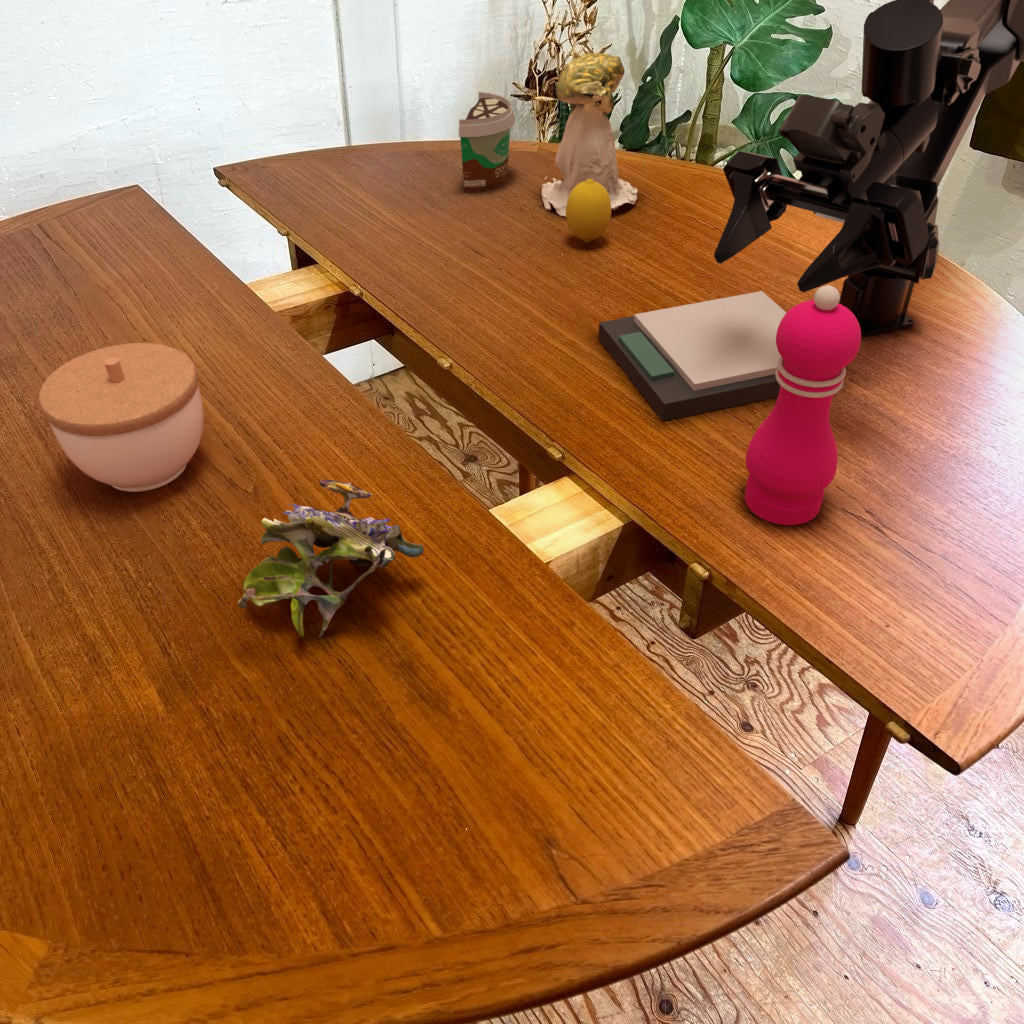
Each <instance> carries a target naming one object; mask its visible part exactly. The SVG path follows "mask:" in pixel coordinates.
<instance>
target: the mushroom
mask: <svg viewBox="0 0 1024 1024" xmlns="http://www.w3.org/2000/svg"><path fill="white" fill-rule="evenodd" d="M558 74H559V75H560V73H559V72H556V75H558ZM624 74H625V67H624V65H623V63H622V59H621V57H620V56H618V55H616V56H615V55H611V54H609V53H604V52H589V53H584V54H582V55H580V56H578V57H576V58H575V59H573V60H570V61H569V62H568V63H567V65H566V66H565V67H564V70H563V72H562V73H561V75H560V77H559V79H558V82H557V86H556V93H557V96H556V97H557V100H558V101H560V102H562V103H565V104H569V105H570V107H571V112H570V114H569V116H568V119H567V120H566V124H565V126H564V132H563V134H562V139H561V141H559V143H558V149H557V151H556V155H555V164H556V166H557V168H558V169H559V171H560V173H561V174H562V180H561V179H556V178H555V177H553V178H552V181H553V182H550V181H547V182H546V183H542V185H541V200H542V201H543V206H544V208H545V209H547V210H548V211H551V210H552V207H553V208H554V209H555V212H556V214H558V215H559V216H560V217H565V218H566V205H567V201H568V198H569V195H570V193H571V191H572V189H573V188H574V187H575V186H576V185H578V184H579V183H581V182H584V181H586V180H587V179H593V181H595V182H598V183H600V184H601V185H602V186H603V187H604V188H605V189H606V190H607V192H608V194H609V197H610V201H611V209H613V211H616V210H618V209H619V207H621V206H622V205H624V204H626V203H627V204H632V205H635V204H636V201H637V199H638V192H639V191H638V188H637V187H633V186H632V184H631V183H630V182H629V181H626V179H625V180H624V179H622V178H619V169H618V161H617V150H616V143H615V136H614V133H613V130H612V126H611V122H610V120H609V117H608V115H607V114H610V113H611V112H612V111H613V110H614V95H613V93H614V92H615V91H616V90H617V89H618V86H619V85H620V83H621V81H622V80H623V78H624V76H625V75H624ZM547 179H548V176H547V175H546V176H545V177H544V178H543V180H545V181H546V180H547ZM551 206H552V207H551Z"/></svg>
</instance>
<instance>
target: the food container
mask: <svg viewBox="0 0 1024 1024" xmlns="http://www.w3.org/2000/svg"><path fill="white" fill-rule="evenodd" d="M458 122H459V123H458V137H459V138H460V139H459V140H460V153H461V164H462V165H461V166H462V179H463V191H464V192H465V193H477V192H479V193H480V192H487V191H490V190H495V189H498V188H500V187H502V186H503V185H504V184H506V182H507V181H508V171H509V155H510V138H511V137H510V136H511V135H510V134H511V128H512V127H513V126H514V124H515V123H516V117H515V113H514V108H513V106H512V104H511V102H510V100H509V99H507V98H506V97H504V96H502V95H499V94H497V93H496V94H495V93H491V92H483V91H482V92H481V91H478V99H477V102H476V104H475V105H474V106H473V107H471V108H470V110H469V111H468V114H467V116H466V118H465V119H458Z"/></svg>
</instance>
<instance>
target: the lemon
mask: <svg viewBox="0 0 1024 1024" xmlns="http://www.w3.org/2000/svg"><path fill="white" fill-rule="evenodd" d="M611 218H612V208H611V201H610V197H609V194H608V192H607V190H606V189H605V188H604V187H603V186H602V185H601V184H600V183H598V182H595V181H593V179H587V180H586V181H584V182H581V183H579V184H578V185H576V186H575V187H574V188H573V189H572V191H571V193H570V195H569V198H568V201H567V205H566V217H565V219H566V223H567V227H568V229H569V230H570V232H571V233H572V234H573V235H574V236H575V237H577V238H578V239H580V240H582V242H584V243H587V244H588V243H589V244H590V243H591V242H592V241H593V240H595V239H598V238H600V237H601V236H602V235H604V233H605V232H606V231H607V230H608V227H609V226H610V223H611V220H612V219H611Z"/></svg>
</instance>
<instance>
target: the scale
mask: <svg viewBox="0 0 1024 1024" xmlns="http://www.w3.org/2000/svg"><path fill="white" fill-rule="evenodd" d="M786 313H787V311H785V310H784V309H783V308H782V307H781V306H779V304H778V303H776V302H775V301H774V300H773V299H772V298H771V297H770V296H768V295H767V294H766V293H765V292H764V291H763V290H760V291H754V292H749V293H743V294H738V295H733V296H728V297H727V296H726V297H721V298H716V299H711V300H706V301H700V302H695V303H687V304H683V305H678V306H673V307H667V308H662V309H656V310H650V311H644V312H639V313H635V314H633V315H631V316H625V317H621V318H616V319H610V320H605V321H604V320H603V321H599V323H598V341H600V343H601V344H602V346H603V347H604V348H605V350H607V352H608V353H609V354H610V356H611V357H612V358H613V359H614V361H615V362H616V363H617V365H618V366H619V367H620V368H621V369H622V371H623V372H624V373H625V376H627V378H629V380H630V381H631V383H632V384H633V385H634V386H635V388H636V389H637V390H638V392H639V393H640V394H641V395H642V397H643V398H644V399H645V400H646V402H647V403H648V404H649V406H650V407H651V408H652V409H653V411H654V412H655V413H656V415H657V416H658V417H659V419H660V420H661V421H662V422H665V421H671V420H675V419H679V418H680V419H681V418H684V417H689V416H694V415H699V414H703V413H708V412H712V411H713V412H714V411H717V410H722V409H727V408H732V407H737V406H742V405H747V404H751V403H755V402H760V401H765V400H769V399H774V398H778V395H779V391H780V384H779V383H778V382H777V380H776V375H775V374H776V370H777V369H778V366H777V365H778V360H779V359H780V357H781V355H780V354H779V352H778V349H777V346H776V334H777V329H778V326H779V324H780V322H781V320H782V318H783V317H784V315H785V314H786Z"/></svg>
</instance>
